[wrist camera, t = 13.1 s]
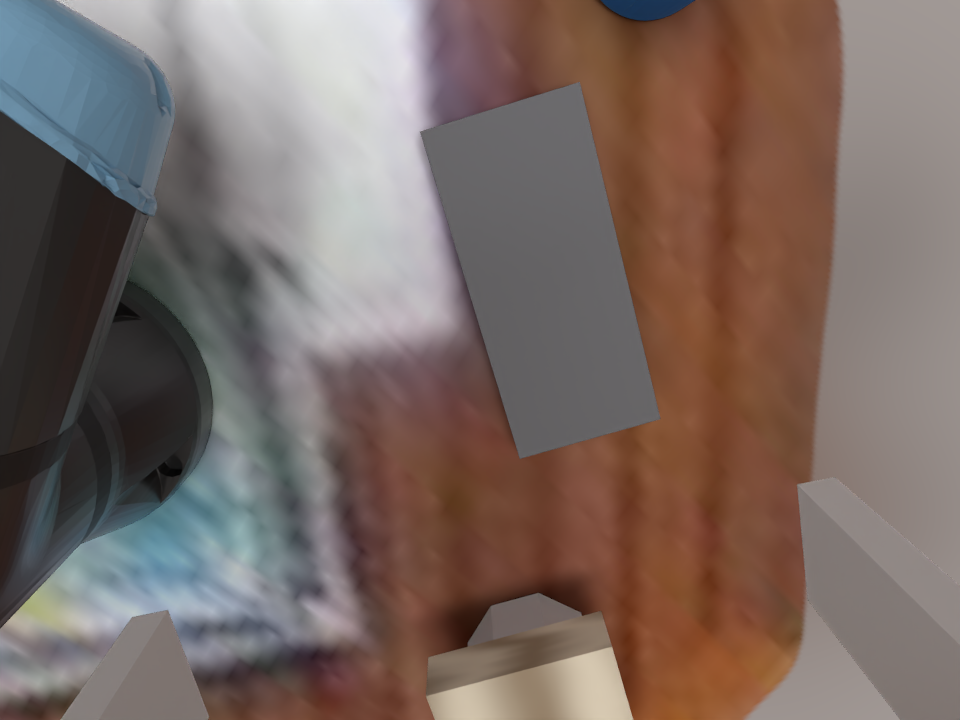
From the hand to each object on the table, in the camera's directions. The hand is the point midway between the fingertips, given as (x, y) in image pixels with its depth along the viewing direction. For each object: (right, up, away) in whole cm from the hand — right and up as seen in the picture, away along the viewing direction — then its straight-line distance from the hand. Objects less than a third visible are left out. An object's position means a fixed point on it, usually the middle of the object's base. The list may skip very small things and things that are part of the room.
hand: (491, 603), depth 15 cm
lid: (+3, -15, +27) cm, 31 cm away
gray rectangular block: (+3, +10, +25) cm, 27 cm away
